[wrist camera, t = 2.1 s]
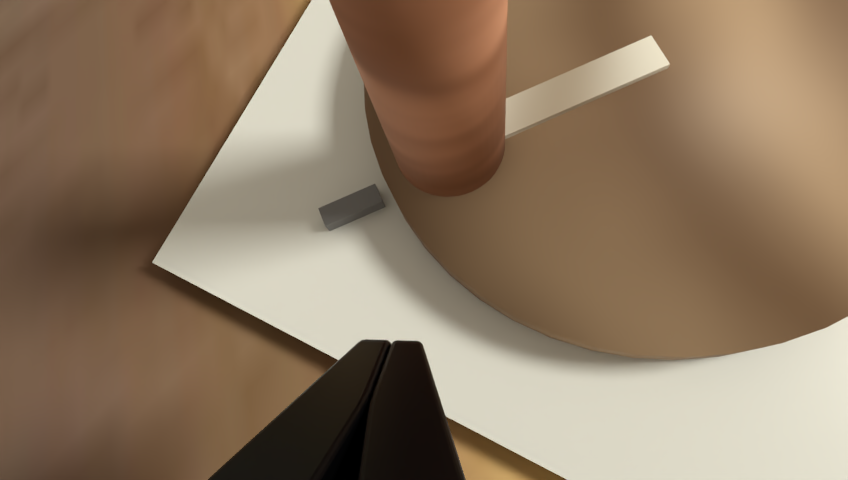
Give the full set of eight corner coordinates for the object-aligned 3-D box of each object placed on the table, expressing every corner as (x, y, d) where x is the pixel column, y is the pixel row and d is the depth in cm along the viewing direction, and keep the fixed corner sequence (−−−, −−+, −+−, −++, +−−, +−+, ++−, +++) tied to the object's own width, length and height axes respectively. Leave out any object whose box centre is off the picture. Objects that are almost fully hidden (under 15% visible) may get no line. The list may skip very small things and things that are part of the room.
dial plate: (924, 664, 13) (968, 691, 12) (166, 268, 18) (142, 258, 17) (1121, -77, 17) (1168, -114, 16) (464, -228, 23) (462, -265, 21)
